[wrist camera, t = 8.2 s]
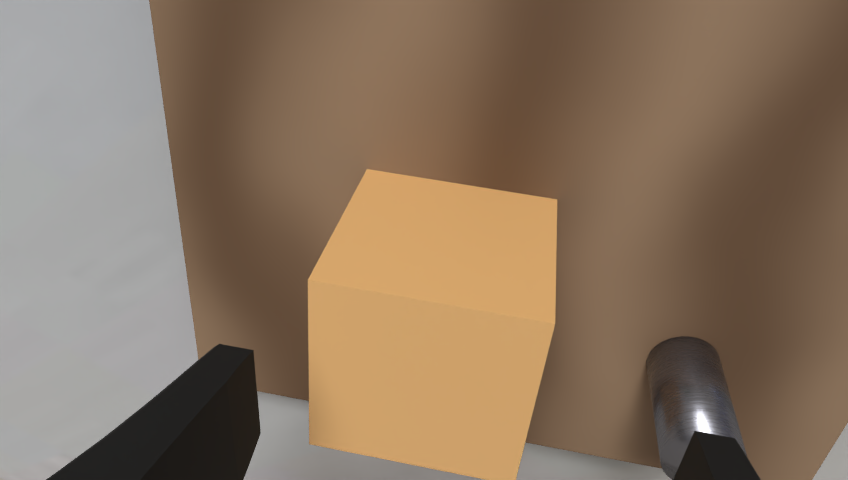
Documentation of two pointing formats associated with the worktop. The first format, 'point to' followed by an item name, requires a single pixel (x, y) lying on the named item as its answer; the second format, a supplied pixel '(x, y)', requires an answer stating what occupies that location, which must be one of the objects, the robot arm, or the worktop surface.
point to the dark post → (688, 397)
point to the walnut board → (541, 184)
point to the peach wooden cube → (432, 324)
